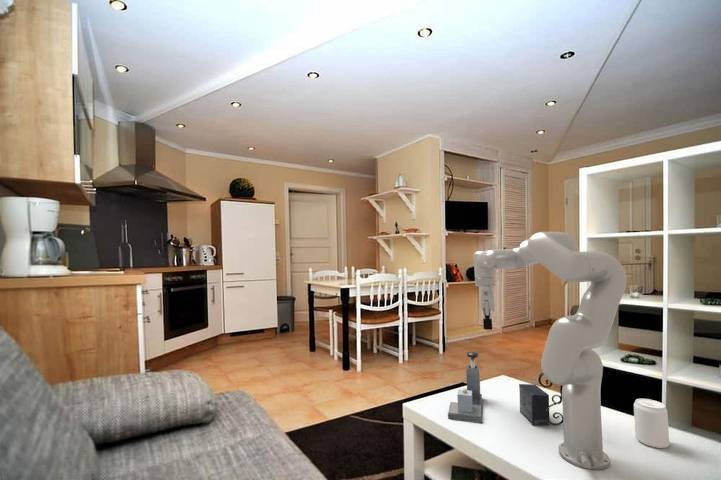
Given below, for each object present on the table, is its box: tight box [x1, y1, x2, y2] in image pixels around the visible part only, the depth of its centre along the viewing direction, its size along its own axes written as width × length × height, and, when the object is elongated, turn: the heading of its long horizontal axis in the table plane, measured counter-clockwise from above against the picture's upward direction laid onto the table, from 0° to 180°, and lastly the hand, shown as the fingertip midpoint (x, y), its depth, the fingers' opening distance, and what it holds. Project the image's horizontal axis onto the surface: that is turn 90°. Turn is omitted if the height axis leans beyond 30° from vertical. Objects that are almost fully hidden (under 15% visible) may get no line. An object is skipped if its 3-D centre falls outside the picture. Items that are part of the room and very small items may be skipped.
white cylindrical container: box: [633, 398, 670, 449], centre depth 109 cm, size 8×8×12 cm
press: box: [447, 364, 483, 424], centre depth 136 cm, size 22×12×13 cm, turn 161°
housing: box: [456, 388, 473, 413], centre depth 130 cm, size 5×5×7 cm
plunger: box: [466, 351, 479, 368], centre depth 143 cm, size 5×5×13 cm
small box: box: [518, 383, 551, 426], centre depth 126 cm, size 11×6×10 cm, turn 179°
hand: (487, 329), depth 137 cm, fingers closed
